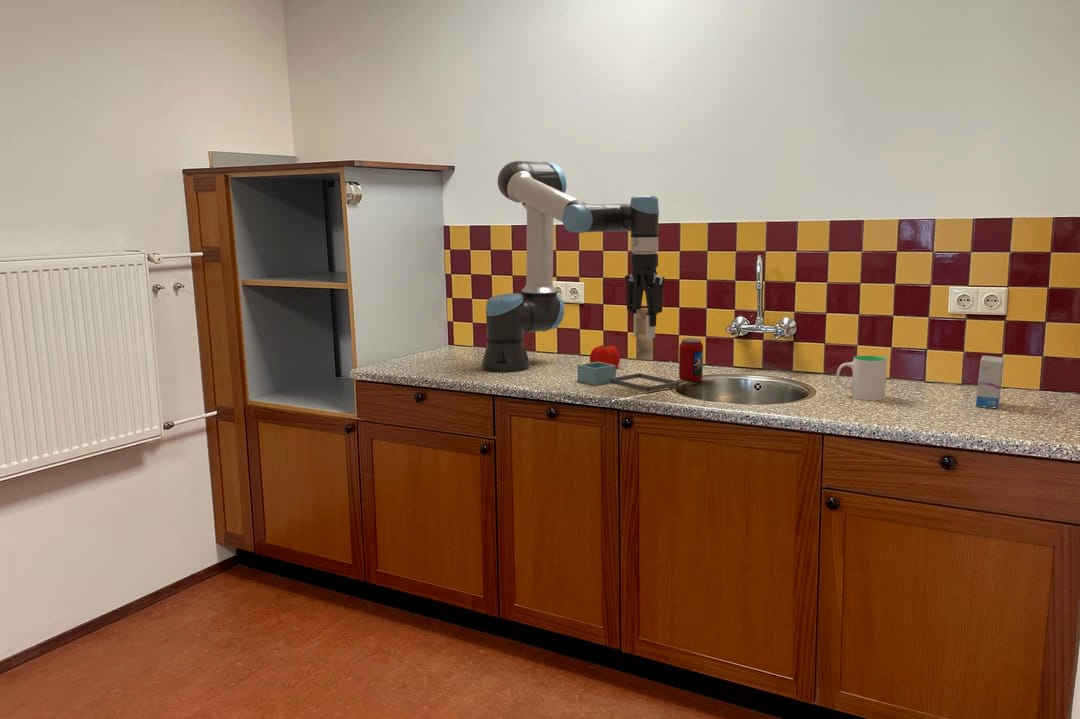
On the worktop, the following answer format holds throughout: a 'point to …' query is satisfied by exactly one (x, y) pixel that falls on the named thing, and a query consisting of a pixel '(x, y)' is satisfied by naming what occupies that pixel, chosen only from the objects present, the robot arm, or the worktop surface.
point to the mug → (867, 377)
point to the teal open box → (596, 373)
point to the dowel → (642, 337)
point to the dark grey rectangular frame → (668, 384)
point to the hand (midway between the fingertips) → (644, 336)
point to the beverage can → (691, 360)
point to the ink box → (989, 381)
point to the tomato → (605, 355)
